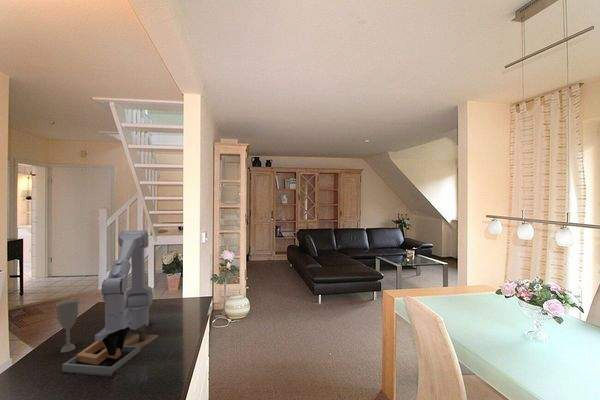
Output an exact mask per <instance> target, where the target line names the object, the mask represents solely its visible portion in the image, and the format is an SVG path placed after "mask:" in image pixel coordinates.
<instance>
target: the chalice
mask: <svg viewBox="0 0 600 400" xmlns="http://www.w3.org/2000/svg"><path fill="white" fill-rule="evenodd" d="M79 303H80V299H67V300H63V301H60V302H57V303H56V304H55V307H56V313H57V314H56V315H57V321H58V323H59V324H60V326H61V327H62V329H65V330H66V332H65V333H64V334H65V335H66V337H65V338H64V340H65V341H66V343H65V344H64V345H63V346H62V348H61V350H60V352H59V353H68V352H71V351H73V350H75V349H76V346H75V344H74V343H71V342H70V341H71V339H72V337H71V336H70V335H71V331H70V329H71V328H73V327H74V324H75V322H76V321H77V318H78V317H79V316H78V315H79Z"/></svg>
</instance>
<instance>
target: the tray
mask: <svg viewBox="0 0 600 400" xmlns="http://www.w3.org/2000/svg"><path fill="white" fill-rule="evenodd" d="M104 349H105V347H101V348H100V349H99V350H98V351H102V350H104ZM141 350H142V348H141V347H140V346H124V345H123V349H122V350H121V352H129V353H128V354H126V355H125V356H124V357H123V358H121V359H119V360H118V361H117V362H116V363H114V364H112V366H106V365H95V364H81V363H80V364H77V363H78V359H77V355H75V356H74V357H72V358H70V359H69V360H68V361H65V362H64V363H62V364H61V373H62V372H67V373H66V374H72V373H76V374H75V375H85V376H97V377H110V378H111V377H113V376H114V375H116V373H117V372H116V371H117V370H118V369H119V368H121V367H122V366H123V365H125V364H126V363H127V362H129V361H130V360H131V359H133V358H134V357H135V356H137V355H138V354H139V353H140V352H142V351H141Z"/></svg>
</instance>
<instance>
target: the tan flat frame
mask: <svg viewBox="0 0 600 400" xmlns="http://www.w3.org/2000/svg"><path fill="white" fill-rule="evenodd" d="M101 347H105V349H104V350H99V349H100V348H101ZM98 351H100V352H99V353H97V354H96V352H98ZM76 356H77V359H78V362H80V363H86V364H88V365H94V366H99V364H101V363H102V362H104V361H105V360H106V359H107V358H109V359H114V360H117V359H118V358H119V357H121V356H122V351H120V348H116V354H115V355H114V356H110V355H108V352H107V349H106V346H105V345H104V343H103V342H102V341H101V342H99V341H94V342H93V343H91V344H90V345H89V346H87V347H86V348H84V349H82V351H80V352H78V353H77V354H76ZM78 362H77V363H78Z"/></svg>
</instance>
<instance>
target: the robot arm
mask: <svg viewBox="0 0 600 400" xmlns="http://www.w3.org/2000/svg"><path fill="white" fill-rule="evenodd" d="M117 241H118V245H119V248H120V249H119V255H118V258H117V259H116V260H114V262H113V263H112V266H111V268H110V271H109V273H108V277H107V278H106V279H103V281H102V284H101V288H100V289H101V290H100V291H101V295H102V301H103V302H104V327H103V328H102V329H101V330H100V331H99V332H98V333H96V334H94V342H96V341H99V342H101V341H102V342H103V343H104V345H105V346H106V349H107V352H108V355H110V356H114V355H115V354H116V348H120V351H121V350H122V349H123V345H124V341H125V338H126V337H128V333H129V332H130V330H132V331H133V330H134V331H137V328H139V327H140V326H142V325H143V324H147V327H149V324H150V319H149V318H150V316H149V315H150V312H149V310H150V309H149V308H150V306H151V305H153V301H154V300H153V299H154V295H153V289H152V287H151V286H149V285H147V284H145V255H144V254H145V253H144V252H145V248H148V247H149V233H148V231H147V230H146V229H142V230H121V231H120V232H119V233H118V235H117ZM130 260H131V261H130ZM130 269H131V286H130V287H129V288H128V284H129V282H128V281H129V278H128V276H129V273H130ZM121 352H122V351H121Z"/></svg>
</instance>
